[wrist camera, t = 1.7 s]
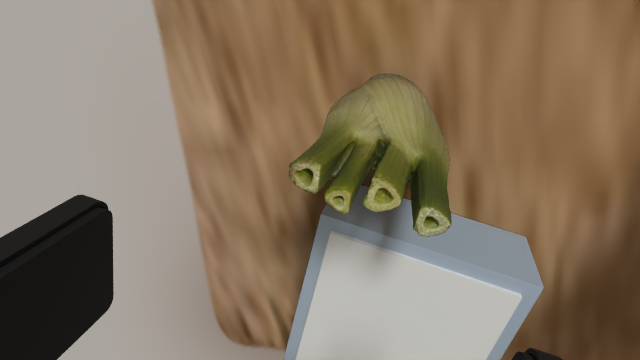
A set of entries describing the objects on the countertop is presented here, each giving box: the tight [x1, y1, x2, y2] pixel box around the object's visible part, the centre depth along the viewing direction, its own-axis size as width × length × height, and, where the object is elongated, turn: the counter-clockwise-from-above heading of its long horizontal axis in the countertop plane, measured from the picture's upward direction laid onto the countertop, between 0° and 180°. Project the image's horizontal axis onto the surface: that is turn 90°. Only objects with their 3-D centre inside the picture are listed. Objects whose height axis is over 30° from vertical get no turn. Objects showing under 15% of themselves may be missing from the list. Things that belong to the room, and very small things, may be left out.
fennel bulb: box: [289, 74, 452, 237], centre depth 19 cm, size 6×5×12 cm
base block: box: [284, 185, 544, 360], centre depth 26 cm, size 12×12×5 cm
